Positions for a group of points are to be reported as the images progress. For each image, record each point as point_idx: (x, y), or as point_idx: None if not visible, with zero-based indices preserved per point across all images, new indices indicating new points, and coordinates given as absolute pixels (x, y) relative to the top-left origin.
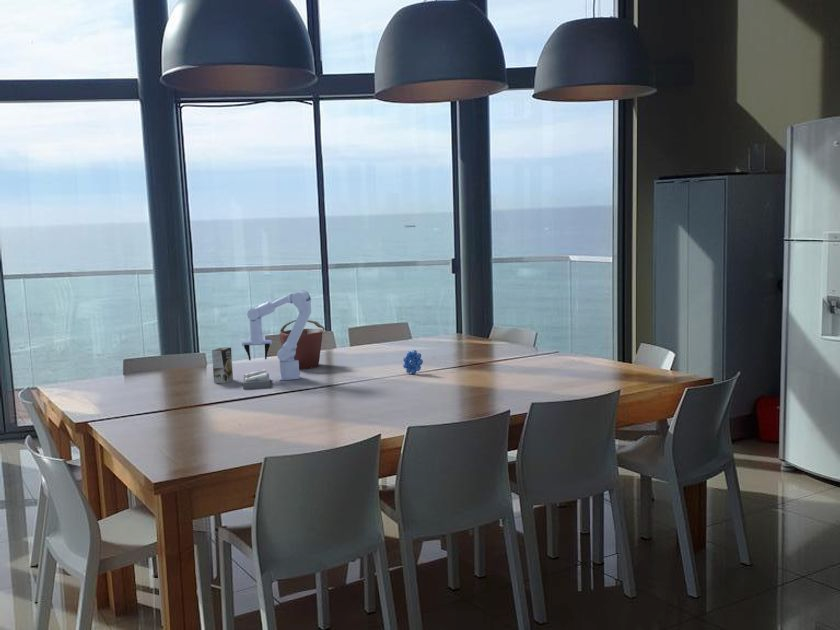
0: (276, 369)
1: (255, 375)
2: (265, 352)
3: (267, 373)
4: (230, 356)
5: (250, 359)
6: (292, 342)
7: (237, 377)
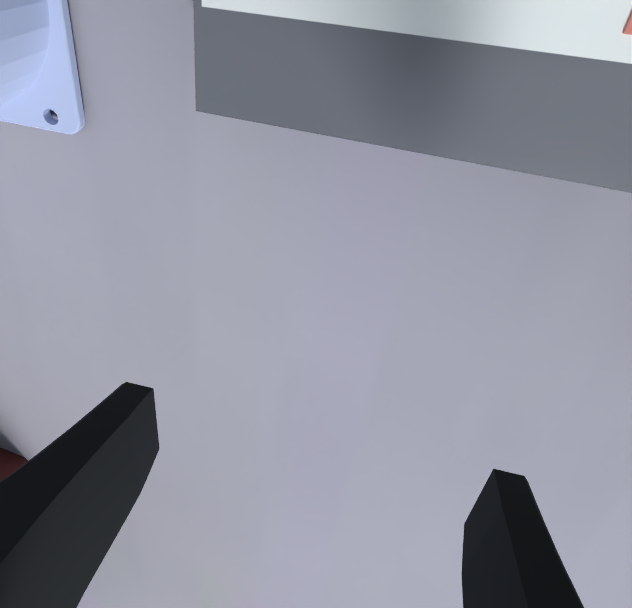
0: (162, 516)
1: None
2: (20, 519)
3: (222, 107)
4: None
5: (498, 485)
6: None
7: (594, 431)
